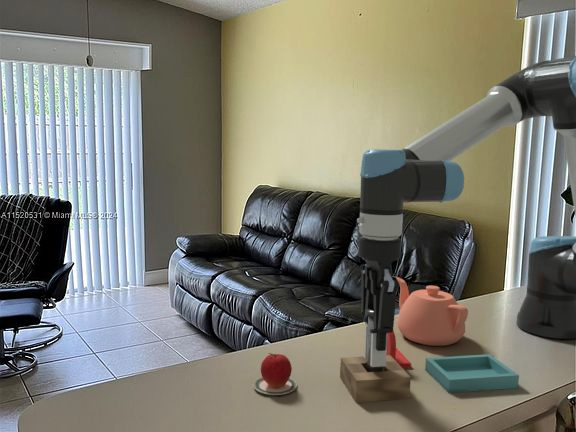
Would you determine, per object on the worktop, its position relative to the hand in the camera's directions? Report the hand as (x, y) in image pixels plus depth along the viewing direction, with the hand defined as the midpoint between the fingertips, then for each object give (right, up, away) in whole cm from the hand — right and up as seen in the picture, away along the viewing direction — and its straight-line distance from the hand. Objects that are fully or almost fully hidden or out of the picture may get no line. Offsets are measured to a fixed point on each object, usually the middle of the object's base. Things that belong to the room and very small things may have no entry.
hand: (374, 361), depth 99 cm
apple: (-18, -5, 0) cm, 19 cm away
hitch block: (0, -5, +1) cm, 5 cm away
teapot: (+17, -2, +28) cm, 33 cm away
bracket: (+6, -3, +15) cm, 17 cm away
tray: (+19, -5, +5) cm, 21 cm away
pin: (0, -5, +1) cm, 5 cm away
